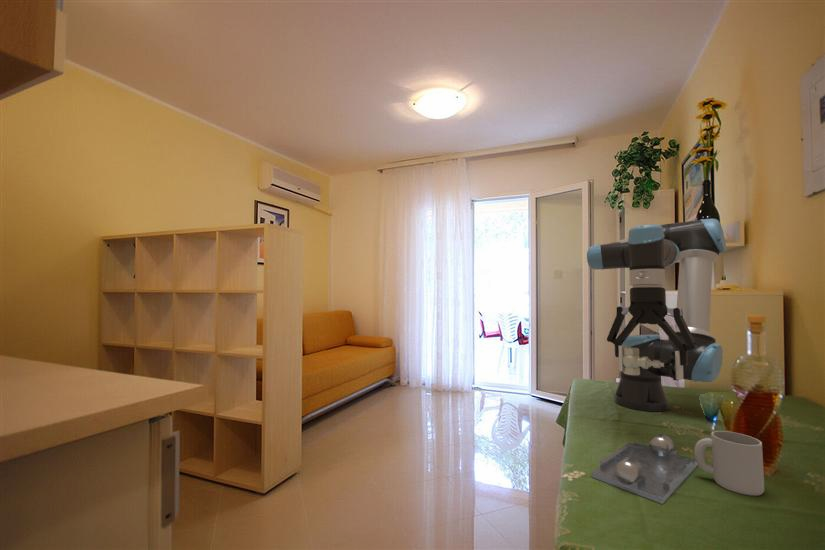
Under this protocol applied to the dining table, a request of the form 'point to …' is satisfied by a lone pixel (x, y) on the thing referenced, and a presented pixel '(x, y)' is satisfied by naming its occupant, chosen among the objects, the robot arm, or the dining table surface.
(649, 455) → the tray
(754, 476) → the cup
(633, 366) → the valve
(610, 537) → the dining table surface
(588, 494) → the dining table surface
